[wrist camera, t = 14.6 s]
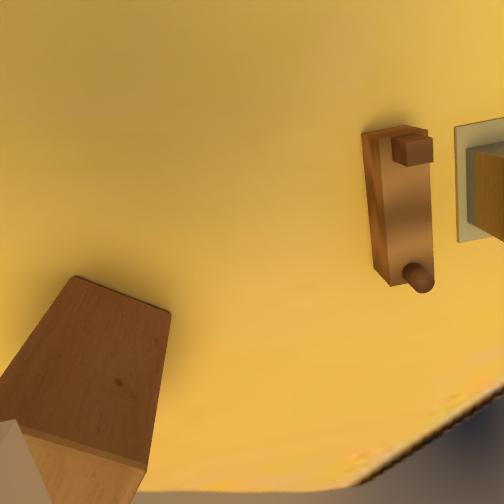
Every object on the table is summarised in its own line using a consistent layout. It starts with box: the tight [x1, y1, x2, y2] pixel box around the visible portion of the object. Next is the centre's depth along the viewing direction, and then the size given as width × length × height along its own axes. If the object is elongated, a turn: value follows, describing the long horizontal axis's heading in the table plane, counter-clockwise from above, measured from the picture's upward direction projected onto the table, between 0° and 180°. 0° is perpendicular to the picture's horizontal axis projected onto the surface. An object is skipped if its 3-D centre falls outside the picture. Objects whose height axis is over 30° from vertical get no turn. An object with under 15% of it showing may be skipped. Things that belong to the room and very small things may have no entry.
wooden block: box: [0, 277, 171, 504], centre depth 37 cm, size 10×10×20 cm
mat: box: [454, 118, 504, 243], centre depth 44 cm, size 11×8×1 cm
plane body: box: [361, 125, 435, 293], centre depth 40 cm, size 13×4×8 cm, turn 10°
